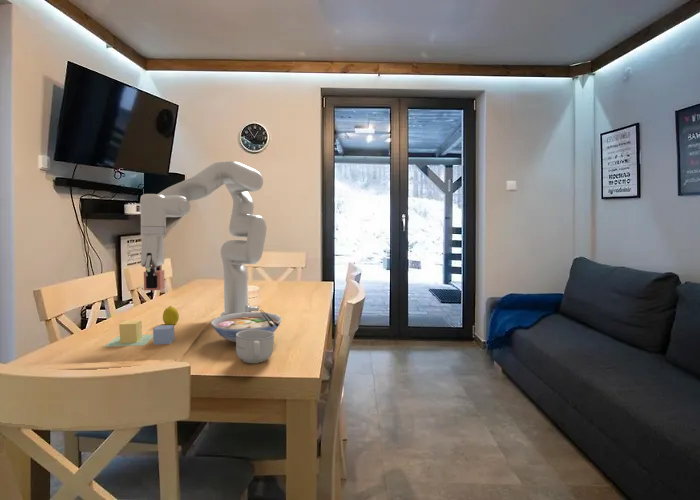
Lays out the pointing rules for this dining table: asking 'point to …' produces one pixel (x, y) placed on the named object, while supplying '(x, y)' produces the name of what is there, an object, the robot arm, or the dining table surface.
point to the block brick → (159, 280)
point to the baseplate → (142, 341)
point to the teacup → (254, 345)
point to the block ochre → (130, 331)
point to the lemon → (170, 316)
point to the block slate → (163, 334)
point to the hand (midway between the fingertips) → (154, 286)
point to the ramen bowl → (245, 323)
